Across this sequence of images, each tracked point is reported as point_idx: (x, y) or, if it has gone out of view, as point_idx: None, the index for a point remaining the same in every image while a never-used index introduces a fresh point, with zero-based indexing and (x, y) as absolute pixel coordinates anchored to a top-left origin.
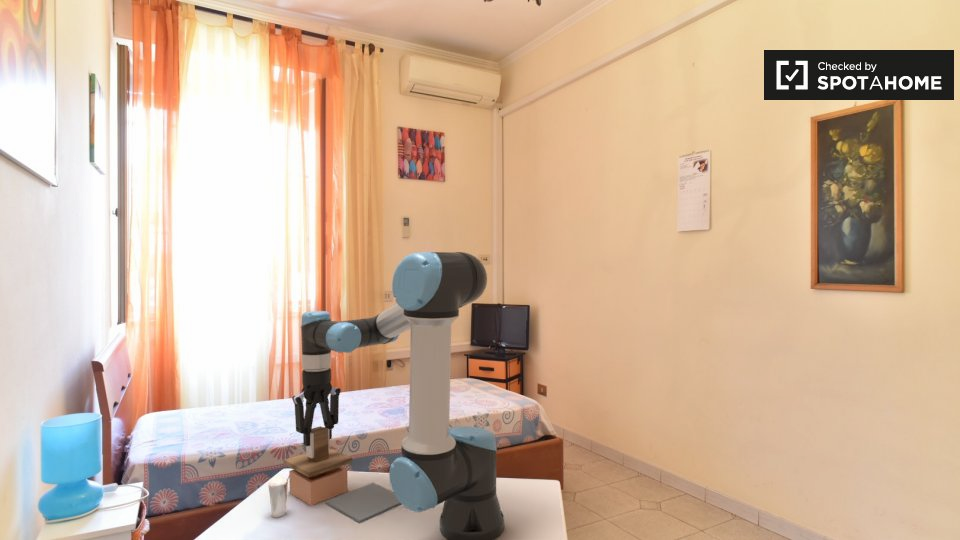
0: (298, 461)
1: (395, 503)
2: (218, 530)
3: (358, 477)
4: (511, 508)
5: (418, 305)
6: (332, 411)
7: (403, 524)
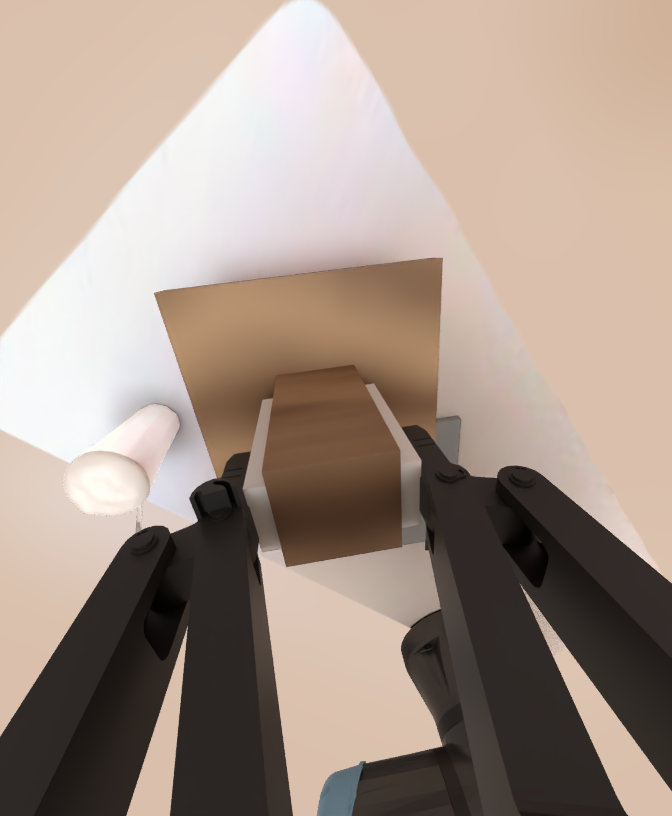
0: (225, 376)
1: (419, 539)
2: None
3: (465, 337)
4: (538, 624)
5: None
6: (576, 616)
7: (381, 591)
